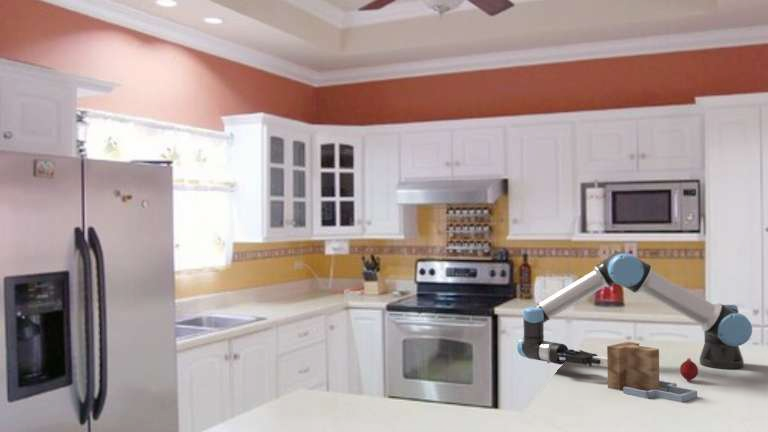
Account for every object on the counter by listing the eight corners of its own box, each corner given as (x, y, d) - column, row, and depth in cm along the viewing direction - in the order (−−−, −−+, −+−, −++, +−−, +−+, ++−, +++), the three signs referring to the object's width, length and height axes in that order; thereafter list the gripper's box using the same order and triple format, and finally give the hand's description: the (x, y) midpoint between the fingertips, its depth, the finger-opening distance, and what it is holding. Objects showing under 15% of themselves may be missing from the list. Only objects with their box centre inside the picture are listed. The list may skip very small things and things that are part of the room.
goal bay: (703, 394, 228) (703, 388, 228) (675, 404, 217) (675, 398, 217) (651, 384, 242) (651, 378, 242) (623, 393, 231) (623, 387, 231)
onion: (699, 383, 242) (699, 360, 242) (682, 382, 243) (681, 359, 243) (696, 379, 248) (695, 356, 248) (678, 378, 249) (678, 356, 249)
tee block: (665, 389, 235) (665, 347, 235) (645, 395, 228) (645, 352, 227) (627, 381, 246) (627, 341, 246) (607, 387, 238) (607, 346, 238)
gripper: (565, 360, 267) (620, 370, 249) (543, 365, 259) (598, 376, 240) (565, 340, 267) (620, 349, 248) (543, 345, 259) (598, 354, 240)
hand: (609, 363), depth 244 cm, fingers closed
